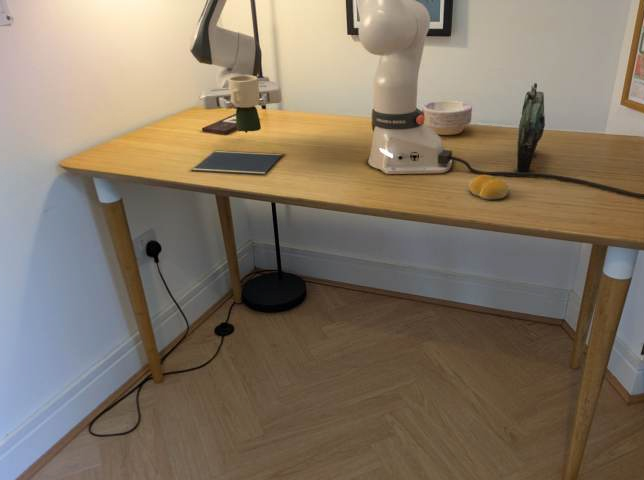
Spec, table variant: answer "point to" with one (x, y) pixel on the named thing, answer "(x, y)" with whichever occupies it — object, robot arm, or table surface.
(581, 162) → the table surface
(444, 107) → the paper bowls
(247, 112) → the character mug
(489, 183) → the bread roll
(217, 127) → the chocolate bar
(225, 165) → the napkin
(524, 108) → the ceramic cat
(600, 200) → the table surface
